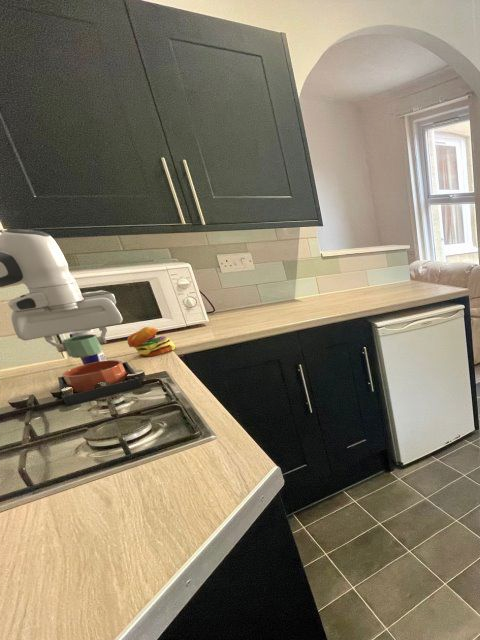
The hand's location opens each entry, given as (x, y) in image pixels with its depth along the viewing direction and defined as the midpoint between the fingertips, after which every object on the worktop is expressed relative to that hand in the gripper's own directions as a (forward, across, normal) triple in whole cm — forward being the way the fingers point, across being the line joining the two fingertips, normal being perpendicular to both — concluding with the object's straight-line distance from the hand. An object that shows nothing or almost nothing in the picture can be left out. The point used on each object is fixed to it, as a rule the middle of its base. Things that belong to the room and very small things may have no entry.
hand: (83, 347), depth 113 cm
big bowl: (+12, 0, 0) cm, 12 cm away
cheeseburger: (+12, -16, -24) cm, 31 cm away
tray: (+12, 0, 0) cm, 12 cm away
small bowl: (+2, 0, 0) cm, 2 cm away
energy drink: (+12, -1, -21) cm, 24 cm away
